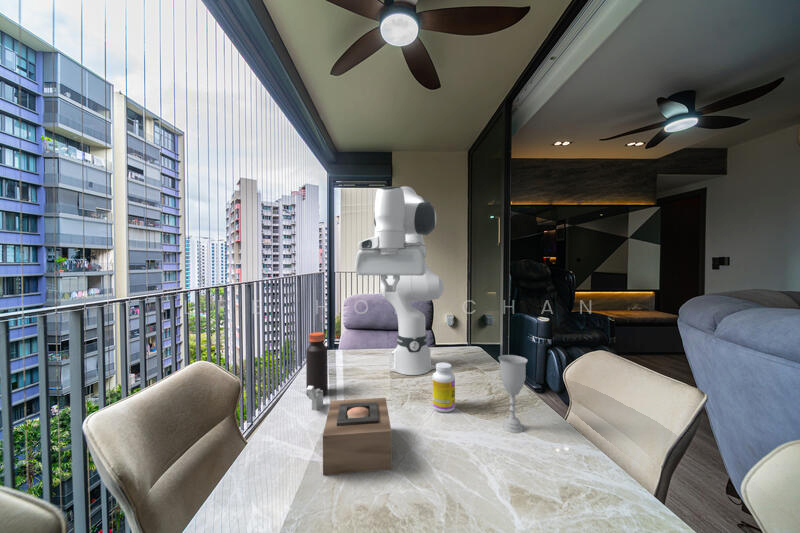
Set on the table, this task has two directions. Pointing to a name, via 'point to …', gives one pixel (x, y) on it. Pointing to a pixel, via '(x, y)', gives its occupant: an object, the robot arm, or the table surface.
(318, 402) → the lighter
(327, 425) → the block
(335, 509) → the table surface
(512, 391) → the chalice
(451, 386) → the supplement bottle
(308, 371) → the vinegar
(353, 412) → the peg
